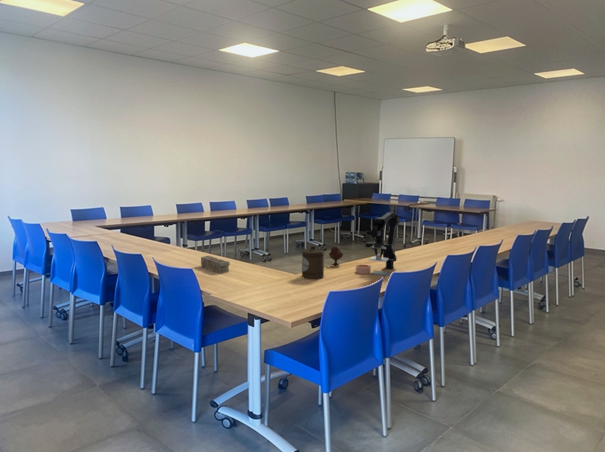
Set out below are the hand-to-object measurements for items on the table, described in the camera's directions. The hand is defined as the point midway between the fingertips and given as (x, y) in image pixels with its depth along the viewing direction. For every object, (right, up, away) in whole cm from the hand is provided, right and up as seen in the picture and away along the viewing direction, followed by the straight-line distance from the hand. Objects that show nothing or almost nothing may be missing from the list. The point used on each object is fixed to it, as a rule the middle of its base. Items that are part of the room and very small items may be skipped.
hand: (378, 257), depth 305 cm
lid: (0, -1, 0) cm, 1 cm away
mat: (+3, -12, +1) cm, 12 cm away
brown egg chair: (-28, -8, +27) cm, 40 cm away
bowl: (-11, -11, +4) cm, 16 cm away
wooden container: (-47, -13, -10) cm, 50 cm away
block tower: (-118, -10, +7) cm, 119 cm away
